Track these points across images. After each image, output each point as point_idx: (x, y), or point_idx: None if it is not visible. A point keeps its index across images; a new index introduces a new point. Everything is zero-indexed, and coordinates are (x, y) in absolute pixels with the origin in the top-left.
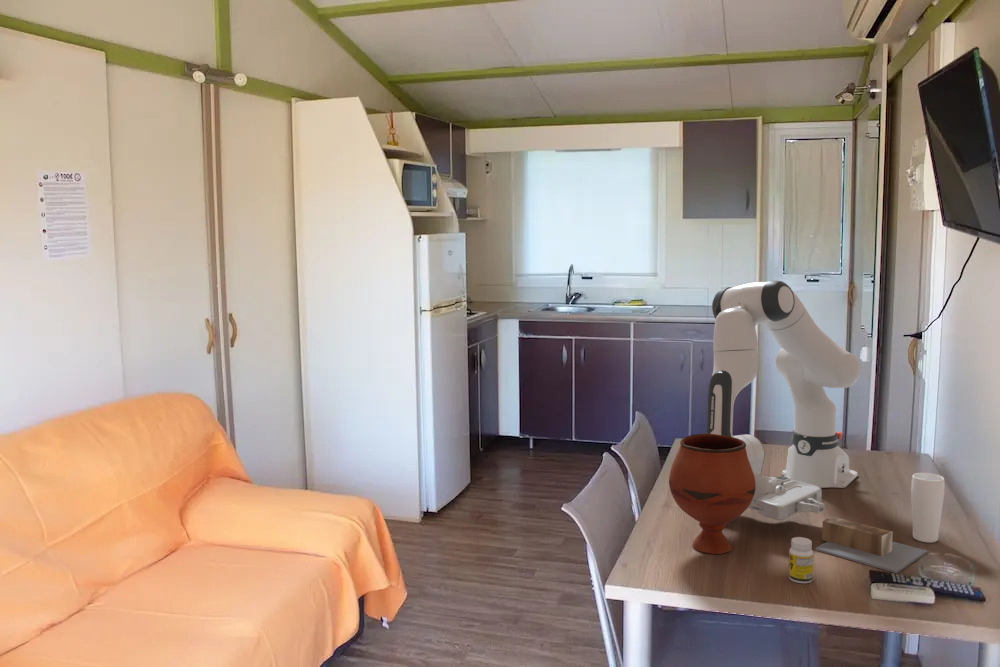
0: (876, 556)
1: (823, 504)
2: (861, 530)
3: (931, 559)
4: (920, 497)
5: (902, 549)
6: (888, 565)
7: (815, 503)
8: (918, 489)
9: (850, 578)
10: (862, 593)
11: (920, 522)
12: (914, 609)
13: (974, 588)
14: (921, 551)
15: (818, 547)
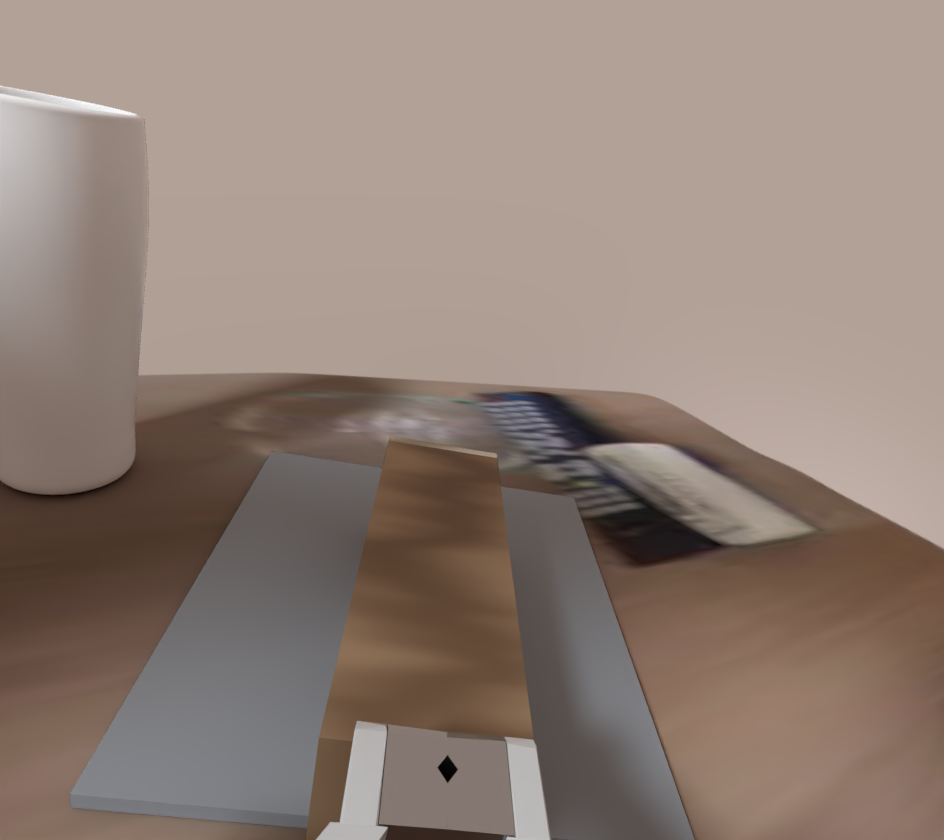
0: None
1: (374, 724)
2: (494, 520)
3: (339, 451)
4: (136, 238)
5: (318, 503)
6: (549, 518)
7: (442, 814)
8: (126, 190)
9: (780, 597)
10: (823, 550)
11: (129, 382)
12: (743, 464)
13: (490, 398)
14: (298, 461)
15: (669, 835)
